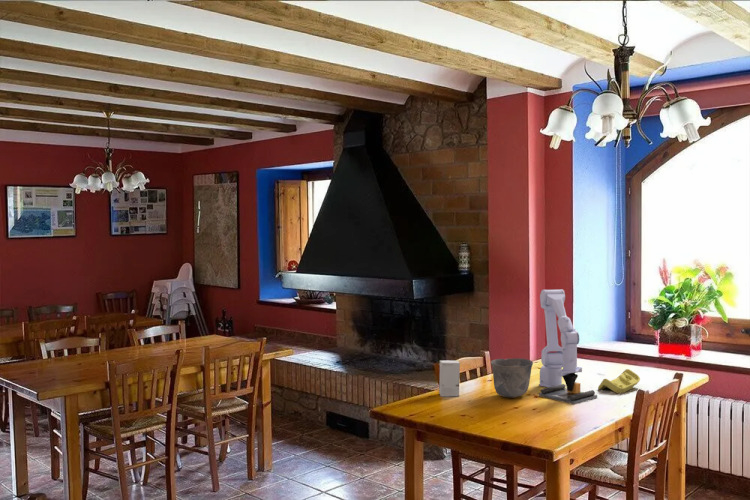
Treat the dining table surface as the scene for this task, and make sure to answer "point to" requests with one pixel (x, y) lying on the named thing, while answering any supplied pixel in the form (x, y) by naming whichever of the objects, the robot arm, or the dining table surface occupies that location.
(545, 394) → the panel
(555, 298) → the robot arm
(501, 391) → the gray stone pot
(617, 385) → the plastic component
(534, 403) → the dining table surface
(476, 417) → the dining table surface
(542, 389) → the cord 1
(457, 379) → the skincare box
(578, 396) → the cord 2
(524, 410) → the dining table surface
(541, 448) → the dining table surface
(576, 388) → the toggle
